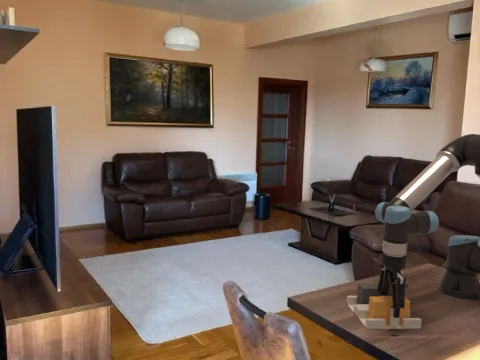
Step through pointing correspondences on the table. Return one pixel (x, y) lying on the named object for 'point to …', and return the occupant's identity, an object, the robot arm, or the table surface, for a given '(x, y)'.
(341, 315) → the table surface
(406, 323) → the rack
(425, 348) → the table surface
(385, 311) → the tall orange brick
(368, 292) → the dark gray brick
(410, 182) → the robot arm
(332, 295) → the table surface
